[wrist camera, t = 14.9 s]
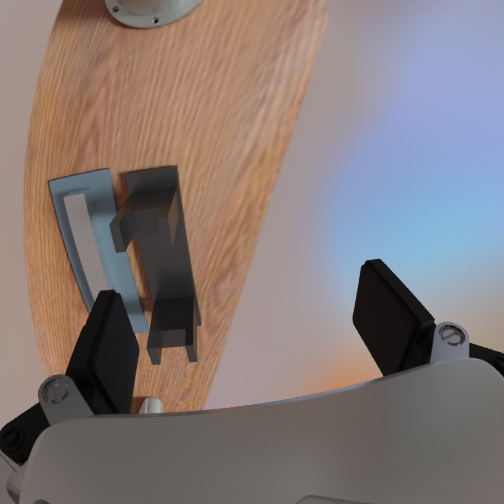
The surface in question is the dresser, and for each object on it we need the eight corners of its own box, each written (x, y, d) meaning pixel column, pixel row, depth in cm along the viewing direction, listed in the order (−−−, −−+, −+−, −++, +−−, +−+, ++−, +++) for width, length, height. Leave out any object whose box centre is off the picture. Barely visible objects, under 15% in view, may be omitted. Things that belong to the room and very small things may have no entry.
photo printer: (145, 394, 54) (140, 445, 43) (165, 399, 56) (163, 450, 45) (135, 416, 58) (131, 463, 47) (153, 421, 59) (151, 467, 48)
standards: (127, 172, 35) (100, 200, 25) (177, 165, 36) (166, 190, 26) (161, 323, 46) (155, 377, 37) (201, 320, 47) (202, 373, 37)
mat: (50, 180, 33) (48, 181, 33) (109, 167, 34) (108, 168, 34) (99, 332, 46) (99, 334, 45) (149, 329, 47) (148, 332, 46)
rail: (70, 191, 34) (63, 197, 32) (90, 187, 34) (83, 193, 32) (111, 324, 44) (108, 335, 42) (128, 323, 45) (125, 334, 43)
